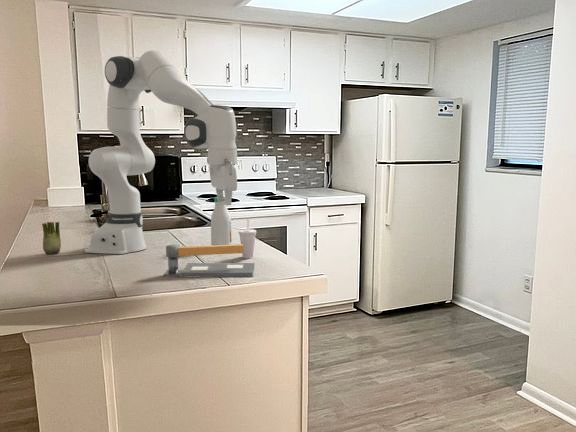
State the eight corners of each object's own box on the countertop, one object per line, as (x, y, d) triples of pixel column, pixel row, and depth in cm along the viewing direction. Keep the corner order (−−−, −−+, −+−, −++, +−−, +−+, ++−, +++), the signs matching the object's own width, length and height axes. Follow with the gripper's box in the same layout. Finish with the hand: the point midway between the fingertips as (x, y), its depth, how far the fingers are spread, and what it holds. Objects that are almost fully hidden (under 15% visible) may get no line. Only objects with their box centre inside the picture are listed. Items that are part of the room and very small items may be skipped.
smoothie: (242, 260, 177) (242, 220, 175) (236, 256, 183) (235, 218, 180) (259, 258, 180) (259, 219, 178) (252, 254, 186) (252, 216, 183)
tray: (181, 276, 156) (181, 271, 156) (188, 266, 168) (188, 262, 168) (252, 276, 157) (252, 271, 156) (254, 266, 169) (254, 262, 168)
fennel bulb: (61, 252, 189) (59, 220, 187) (60, 255, 185) (58, 222, 183) (44, 253, 187) (42, 221, 186) (42, 256, 183) (40, 223, 181)
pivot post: (163, 276, 157) (163, 258, 156) (167, 272, 162) (166, 255, 161) (179, 276, 157) (179, 258, 156) (182, 271, 162) (182, 255, 161)
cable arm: (166, 257, 156) (165, 247, 155) (166, 254, 160) (166, 245, 159) (243, 254, 160) (243, 244, 160) (242, 251, 164) (242, 242, 164)
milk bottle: (227, 251, 190) (226, 198, 187) (208, 250, 192) (207, 198, 189) (234, 247, 198) (233, 196, 195) (215, 246, 199) (214, 195, 196)
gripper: (241, 159, 147) (243, 206, 149) (225, 157, 166) (226, 199, 168) (220, 159, 144) (222, 208, 146) (205, 158, 163) (207, 200, 165)
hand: (224, 203), depth 157 cm, fingers open, 8 cm apart
